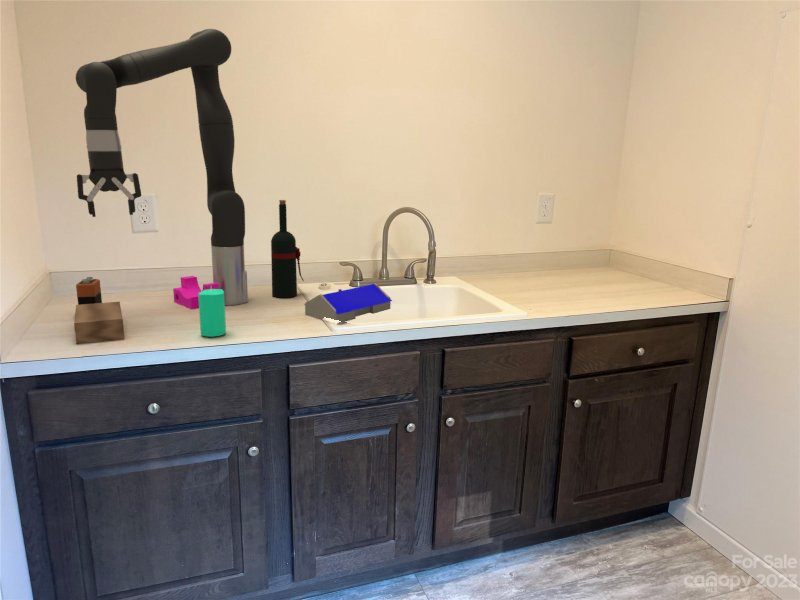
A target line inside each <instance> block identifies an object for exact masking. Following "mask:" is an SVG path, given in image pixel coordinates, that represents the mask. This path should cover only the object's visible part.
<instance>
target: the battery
mask: <svg viewBox="0 0 800 600" xmlns="http://www.w3.org/2000/svg"><path fill="white" fill-rule="evenodd" d="M75 288H76V297H77V305H82V304H94V303H103V300H102V299H103V298H102V290H101V289H102V287H101V280H100V279H99V278H94V276H87V277H85V278H83V279H81V280H80V281H79V282H78V283H76V285H75Z"/></svg>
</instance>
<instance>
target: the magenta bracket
mask: <svg viewBox="0 0 800 600" xmlns="http://www.w3.org/2000/svg"><path fill="white" fill-rule="evenodd" d="M208 289H219V284H218V283H213V282H210V283H205V284H202V289H201V287H200V285H199V281H198V277H197V276H194V275H190V276H189V275H188V276H181V277H180V287H174V288H172V290H173V303H175V304H178V305H179V306H182V307H185V308H188V309H190V310H193V309H194V310H195V309H199V296H198V293H200V292H202V291H204V290H208Z"/></svg>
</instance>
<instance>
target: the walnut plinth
mask: <svg viewBox="0 0 800 600" xmlns="http://www.w3.org/2000/svg"><path fill="white" fill-rule="evenodd" d="M73 324H74V326H73V327H74V335H75V336H74V337H75V341H76V343H75V344H76V345H81V344H82V345H83V344H91V343H99V342H100V343H101V342H109V341H120V340H125V330H124V319H123V314H122V308H121V302H120V301H109V302H108V301H107V302H102V303H94V304H82V305H78V304H75V312H74V320H73Z"/></svg>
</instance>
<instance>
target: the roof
mask: <svg viewBox="0 0 800 600" xmlns="http://www.w3.org/2000/svg"><path fill="white" fill-rule="evenodd" d="M392 301H393V300H392V298H391V297H390V296H389V295H388V294H387V293H386V292H385V291H384V290H383V289H382V288H381V287H380V286H379V285H378V284H377V283H376V282H373V283H372V284H367V285H363V286H358V287H352V288H349V289H344V290H343V289H341V288H340V289H338V291H335V292H329V293H325V294H321V293H320V294H318V295H317V296H315V297H313V298H312V299H309V300H308V301H307V302H305V303H304V304H303V305H304V310H305V311H304V314H305V316H307V317H311V318H314V319H316V320H320V321H323V320H322V319H323V318H324V317H326V318H331V319H334V320H339V321H341V322H342V323H346V322H349V321H353V320H356V319H357V317H360V316H363V315H367V314H376V313H381V312H384V311H385V312H386V311H388V310H390V309H391V302H392Z"/></svg>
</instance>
